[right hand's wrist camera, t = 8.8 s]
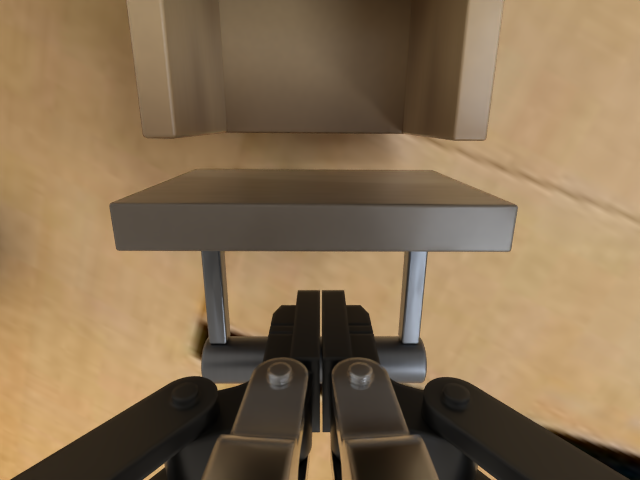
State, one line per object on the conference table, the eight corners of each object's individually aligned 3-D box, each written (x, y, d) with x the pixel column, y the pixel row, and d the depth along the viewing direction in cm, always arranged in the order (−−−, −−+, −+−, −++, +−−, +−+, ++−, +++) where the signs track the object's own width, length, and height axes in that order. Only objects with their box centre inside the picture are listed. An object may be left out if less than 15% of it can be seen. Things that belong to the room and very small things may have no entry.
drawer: (419, 318, 18) (481, 434, 11) (208, 318, 18) (144, 435, 11) (483, -359, 11) (725, -1047, 5) (147, -368, 11) (-99, -1090, 4)
